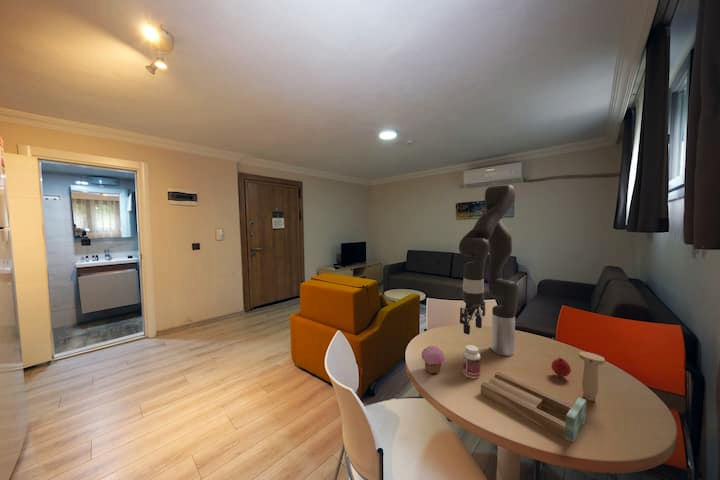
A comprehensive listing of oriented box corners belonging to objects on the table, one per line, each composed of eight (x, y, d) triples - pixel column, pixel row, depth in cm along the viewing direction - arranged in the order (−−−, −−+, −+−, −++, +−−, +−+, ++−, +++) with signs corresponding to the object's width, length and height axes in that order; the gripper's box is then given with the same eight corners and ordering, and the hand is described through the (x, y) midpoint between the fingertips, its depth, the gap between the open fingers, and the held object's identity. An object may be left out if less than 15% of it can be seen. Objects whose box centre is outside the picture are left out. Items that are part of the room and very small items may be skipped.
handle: (601, 406, 85) (604, 362, 84) (576, 397, 90) (578, 355, 89) (602, 399, 89) (605, 356, 88) (577, 390, 93) (579, 350, 92)
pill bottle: (483, 375, 103) (484, 348, 102) (474, 381, 100) (474, 353, 99) (469, 368, 108) (469, 342, 107) (459, 373, 105) (460, 346, 104)
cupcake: (438, 364, 112) (438, 341, 111) (448, 376, 103) (448, 352, 102) (418, 366, 110) (418, 343, 110) (426, 378, 102) (426, 353, 101)
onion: (567, 374, 103) (568, 354, 102) (572, 382, 98) (573, 362, 97) (549, 371, 105) (550, 351, 105) (553, 379, 100) (554, 359, 99)
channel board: (497, 380, 100) (497, 362, 99) (585, 421, 79) (586, 399, 79) (480, 393, 93) (481, 374, 92) (572, 442, 72) (573, 418, 72)
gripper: (474, 284, 108) (473, 322, 110) (453, 291, 100) (453, 332, 101) (492, 288, 102) (491, 328, 104) (472, 295, 94) (471, 339, 95)
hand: (472, 330), depth 102 cm, fingers open, 8 cm apart
